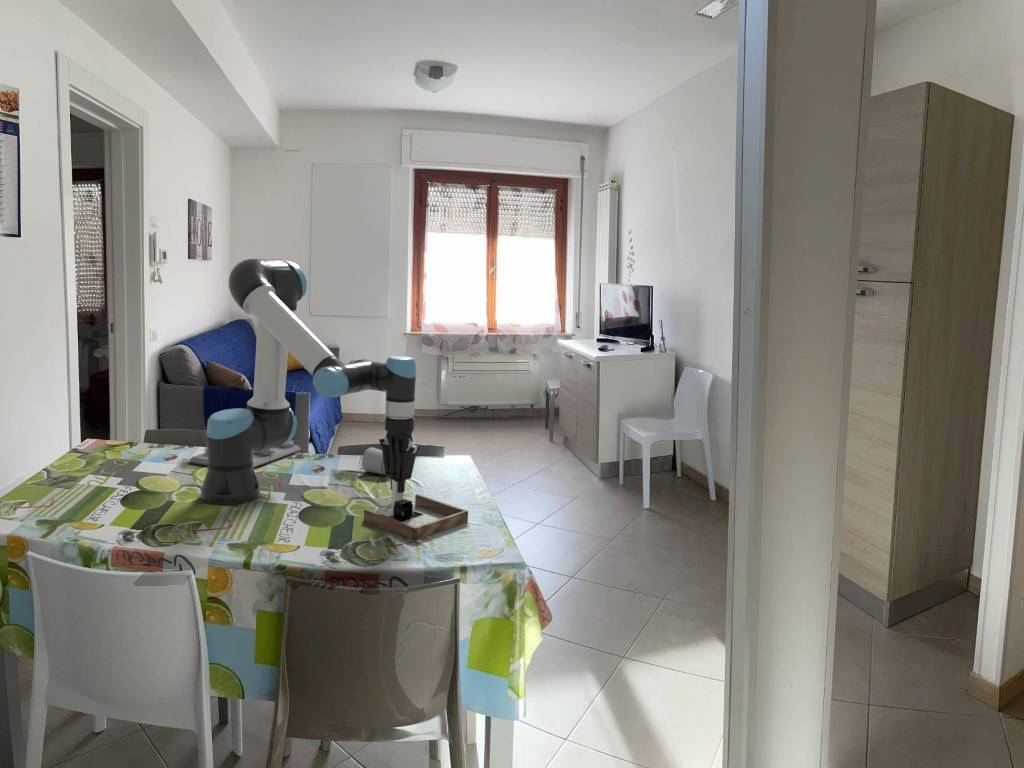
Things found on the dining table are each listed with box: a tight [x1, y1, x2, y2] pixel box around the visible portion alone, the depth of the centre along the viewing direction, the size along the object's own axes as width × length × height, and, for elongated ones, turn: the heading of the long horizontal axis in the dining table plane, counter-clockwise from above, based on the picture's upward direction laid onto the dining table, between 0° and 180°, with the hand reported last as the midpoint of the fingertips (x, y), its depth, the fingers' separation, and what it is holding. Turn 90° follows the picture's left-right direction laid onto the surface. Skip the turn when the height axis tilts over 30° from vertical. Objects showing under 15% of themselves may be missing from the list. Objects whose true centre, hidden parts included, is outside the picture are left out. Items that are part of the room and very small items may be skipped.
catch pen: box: [363, 493, 469, 541], centre depth 192 cm, size 19×19×3 cm
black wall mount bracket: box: [386, 498, 424, 523], centre depth 195 cm, size 12×7×5 cm, turn 142°
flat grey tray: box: [189, 439, 302, 470], centre depth 242 cm, size 30×22×7 cm
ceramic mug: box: [361, 446, 390, 476], centre depth 234 cm, size 11×8×8 cm
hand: (397, 503), depth 196 cm, fingers closed
